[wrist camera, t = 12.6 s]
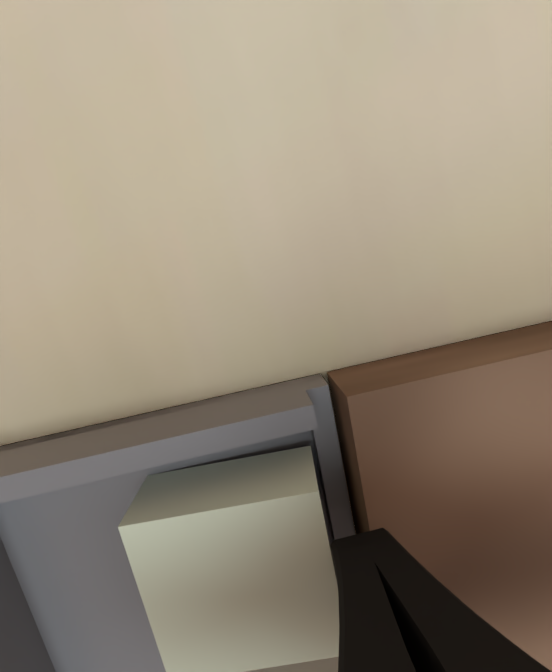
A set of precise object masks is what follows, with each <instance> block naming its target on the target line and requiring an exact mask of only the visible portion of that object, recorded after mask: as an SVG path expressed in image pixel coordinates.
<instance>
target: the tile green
mask: <svg viewBox="0 0 552 672" xmlns="http://www.w3.org/2000/svg"><path fill="white" fill-rule="evenodd" d="M118 529H119V532H120V535H121V538H122V541H123V544H124V547H125V550H126V553H127V556H128V559H129V562H130V565H131V568H132V571H133V574H134V577H135V580H136V583H137V586H138V589H139V592H140V595H141V598H142V601H143V604H144V607H145V610H146V613H147V616H148V619H149V622H150V625H151V628H152V631H153V634H154V637H155V640H156V643H157V646H158V649H159V652H160V655H161V658H162V661H163V664H164V667H165V670H166V672H245V671H251V670H258V669H264V668H270V667H276V666H283V665H289V664H295V663H301V662H308V661H314V660H320V659H327V658H333V657H339V597H338V583H337V577H336V572H335V567H334V562H333V557H332V552H331V547H330V541H329V536H328V531H327V526H326V521H325V516H324V511H323V506H322V501H321V496H320V491H319V486H318V481H317V476H316V471H315V466H314V461H313V455H312V450H311V446H305V447H300V448H295V449H289V450H284V451H278V452H273V453H267V454H262V455H256V456H251V457H245V458H240V459H235V460H229V461H224V462H218V463H213V464H207V465H202V466H196V467H191V468H185V469H180V470H175V471H169V472H164V473H158V474H153V475H147V477H146V479H145V481H144V482H143V484H142V486H141V488H140V489H139V491H138V493H137V494H136V496H135V498H134V500H133V501H132V503H131V505H130V507H129V508H128V510H127V512H126V514H125V515H124V517H123V519H122V521H121V522H120V524H119V526H118Z"/></svg>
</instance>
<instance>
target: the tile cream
mask: <svg viewBox="0 0 552 672" xmlns="http://www.w3.org/2000/svg"><path fill="white" fill-rule="evenodd" d="M245 672H338V657H333V658H327V659H320V660H314V661H308V662H301V663H295V664H289V665H283V666H276V667H270V668H264V669H258V670H251V671H245Z"/></svg>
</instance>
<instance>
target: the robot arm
mask: <svg viewBox="0 0 552 672" xmlns="http://www.w3.org/2000/svg"><path fill="white" fill-rule="evenodd" d="M330 547H331V552H332V557H333V562H334V567H335V572H336V577H337V583H338V597H339V657H338V672H552V671H550V670H549V669H548V668H546V667H545V666H543V665H542V664H541V663H539V662H538V661H536V660H535V659H534V658H532V657H531V656H530V655H528V654H527V653H526V652H524V651H523V650H522V649H520V648H519V647H518V646H517V645H515V644H514V643H513V642H511V641H510V640H509V639H507V638H506V637H505V636H504V635H502V634H501V633H500V632H499V631H497V630H496V629H495V628H494V627H492V626H491V625H490V624H489V623H487V622H486V621H485V620H484V619H482V618H481V617H480V616H479V615H478V614H476V613H475V612H474V611H473V610H472V609H470V608H469V607H468V606H467V605H466V604H464V603H463V602H462V601H461V600H460V599H459V598H458V597H457V596H455V595H454V594H453V593H452V592H451V591H450V590H449V589H447V588H446V587H445V586H444V585H443V584H442V583H441V582H439V581H438V580H437V579H436V578H435V577H434V576H433V575H432V574H431V573H430V572H429V571H428V570H426V569H425V568H424V567H423V566H422V565H421V564H420V563H419V562H418V561H417V560H416V559H415V558H414V557H413V556H412V555H411V554H410V553H409V552H408V551H407V550H406V549H405V548H404V547H403V546H402V545H401V544H400V543H399V542H398V541H397V540H396V539H395V538H394V537H393V536H392V535H391V534H390V533H389V531H387V530H386V529H384V528H379V529H375V530H372V531H368V532H364V533H360V534H356V535H352V536H348V537H344V538H340V539H336V540H334V541H333V542H332V544H331V545H330Z"/></svg>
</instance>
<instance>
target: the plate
mask: <svg viewBox="0 0 552 672" xmlns="http://www.w3.org/2000/svg"><path fill="white" fill-rule="evenodd" d="M327 376H328V381H329V387H330V392H331V398H332V403H333V409H334V414H335V420H336V425H337V431H338V436H339V442H340V448H341V453H342V459H343V464H344V470H345V475H346V481H347V486H348V492H349V497H350V503H351V508H352V514H353V519H354V525H355V530H356V534H360V533H364V532H368V531H372V530H375V529H379V528H384V529H386V530H387V531H389V533H390V534H391V535H392V536H393V537H394V538H395V539H396V540H397V541H398V542H399V543H400V544H401V545H402V546H403V547H404V548H405V549H406V550H407V551H408V552H409V553H410V554H411V555H412V556H413V557H414V558H415V559H416V560H417V561H418V562H419V563H420V564H421V565H422V566H423V567H424V568H425V569H426V570H428V571H429V572H430V573H431V574H432V575H433V576H434V577H435V578H436V579H437V580H438V581H439V582H441V583H442V584H443V585H444V586H445V587H446V588H447V589H449V590H450V591H451V592H452V593H453V594H454V595H455V596H457V597H458V598H459V599H460V600H461V601H462V602H463V603H464V604H466V605H467V606H468V607H469V608H470V609H472V610H473V611H474V612H475V613H476V614H478V615H479V616H480V617H481V618H482V619H484V620H485V621H486V622H487V623H489V624H490V625H491V626H492V627H494V628H495V629H496V630H497V631H499V632H500V633H501V634H502V635H504V636H505V637H506V638H507V639H509V640H510V641H511V642H513V643H514V644H515V645H517V646H518V647H519V648H520V649H522V650H523V651H524V652H526V653H527V654H528V655H530V656H531V657H532V658H534V659H535V660H536V661H538V662H539V663H541V664H542V665H543V666H545V667H546V668H548V669H549V670H550V671H552V321H550V322H545V323H541V324H537V325H532V326H528V327H523V328H519V329H515V330H510V331H506V332H501V333H497V334H493V335H488V336H484V337H479V338H475V339H471V340H466V341H462V342H457V343H453V344H449V345H444V346H440V347H435V348H431V349H426V350H422V351H418V352H413V353H409V354H404V355H400V356H396V357H391V358H387V359H382V360H378V361H374V362H369V363H365V364H360V365H356V366H352V367H347V368H343V369H338V370H334V371H330V372H327Z"/></svg>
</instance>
